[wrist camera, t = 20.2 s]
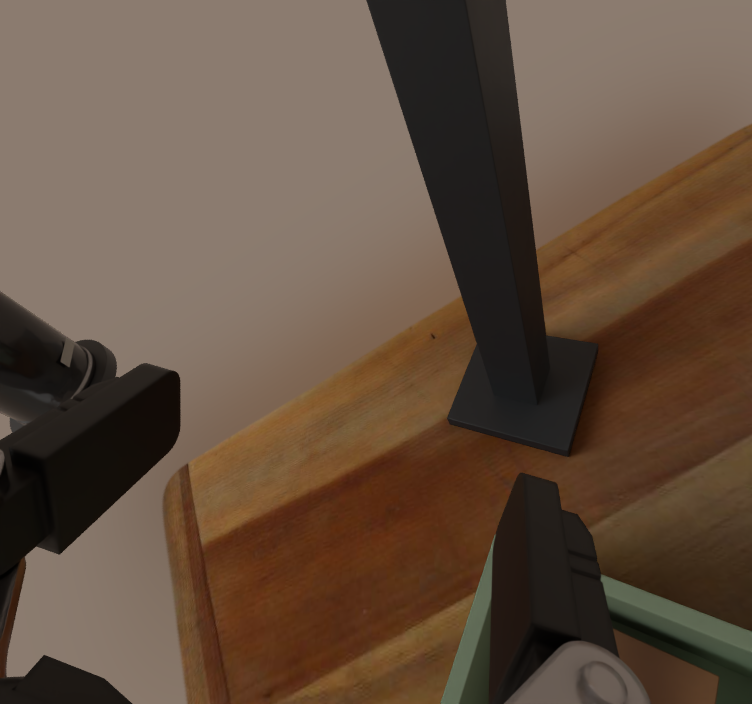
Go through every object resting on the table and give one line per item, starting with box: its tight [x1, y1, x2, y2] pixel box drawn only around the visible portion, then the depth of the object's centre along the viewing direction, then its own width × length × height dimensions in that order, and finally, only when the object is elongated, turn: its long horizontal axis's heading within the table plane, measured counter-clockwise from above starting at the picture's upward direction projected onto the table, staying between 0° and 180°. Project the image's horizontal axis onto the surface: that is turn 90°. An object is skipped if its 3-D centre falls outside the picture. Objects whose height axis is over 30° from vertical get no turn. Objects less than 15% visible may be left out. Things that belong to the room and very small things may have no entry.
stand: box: [367, 0, 598, 457], centre depth 21 cm, size 8×8×32 cm
